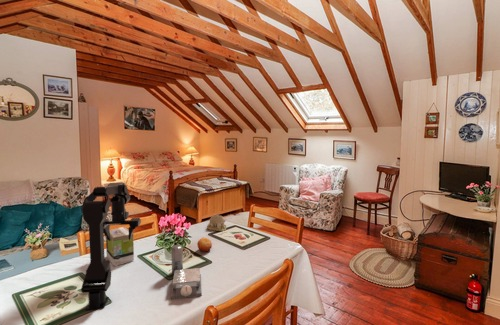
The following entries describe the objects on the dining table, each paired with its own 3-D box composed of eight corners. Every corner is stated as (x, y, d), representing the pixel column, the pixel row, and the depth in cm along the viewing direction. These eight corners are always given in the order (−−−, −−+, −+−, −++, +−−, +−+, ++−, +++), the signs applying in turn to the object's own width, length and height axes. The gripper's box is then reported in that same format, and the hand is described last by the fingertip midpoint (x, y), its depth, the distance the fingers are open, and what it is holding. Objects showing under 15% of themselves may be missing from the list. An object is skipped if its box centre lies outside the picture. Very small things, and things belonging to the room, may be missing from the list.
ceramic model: (228, 226, 194) (228, 212, 193) (225, 231, 183) (225, 217, 182) (209, 225, 195) (209, 212, 194) (205, 230, 184) (204, 216, 183)
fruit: (203, 243, 159) (207, 233, 155) (210, 253, 155) (215, 243, 152) (192, 247, 152) (196, 237, 149) (200, 257, 149) (204, 247, 145)
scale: (201, 296, 108) (201, 284, 108) (170, 299, 106) (170, 287, 105) (200, 276, 123) (200, 266, 123) (173, 279, 121) (173, 268, 120)
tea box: (134, 260, 139) (133, 233, 137) (113, 266, 132) (112, 238, 131) (125, 251, 150) (124, 225, 149) (106, 256, 144) (104, 229, 142)
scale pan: (200, 286, 112) (200, 280, 112) (172, 289, 110) (172, 283, 109) (199, 273, 122) (199, 267, 122) (174, 275, 120) (174, 270, 120)
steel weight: (182, 274, 125) (182, 248, 124) (171, 275, 124) (171, 249, 123) (183, 269, 130) (182, 244, 129) (172, 270, 129) (171, 245, 128)
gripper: (142, 203, 136) (144, 232, 138) (103, 204, 133) (105, 234, 135) (137, 210, 125) (138, 241, 127) (94, 211, 122) (96, 243, 124)
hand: (119, 240), depth 129 cm, fingers open, 9 cm apart
